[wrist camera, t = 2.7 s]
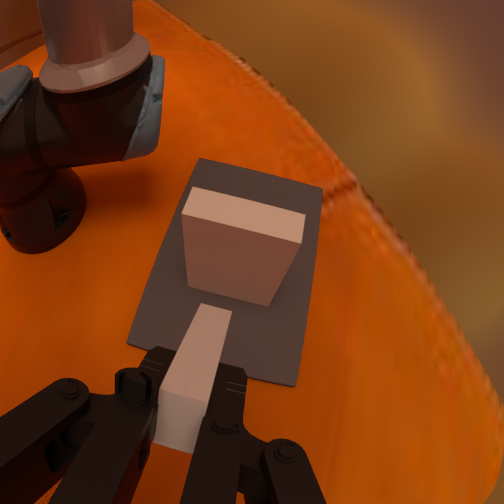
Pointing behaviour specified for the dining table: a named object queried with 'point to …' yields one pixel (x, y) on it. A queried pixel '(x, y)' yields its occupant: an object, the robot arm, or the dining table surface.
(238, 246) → the tile
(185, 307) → the mat
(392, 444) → the dining table surface
